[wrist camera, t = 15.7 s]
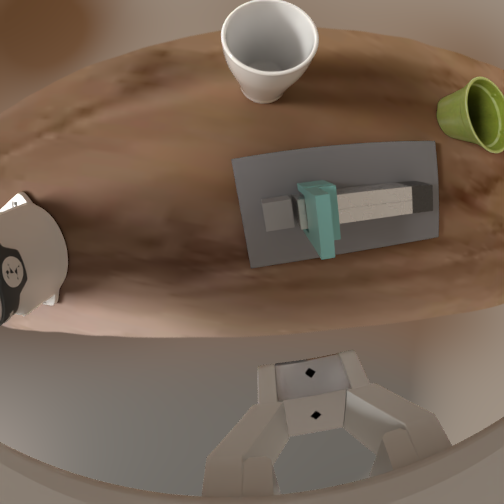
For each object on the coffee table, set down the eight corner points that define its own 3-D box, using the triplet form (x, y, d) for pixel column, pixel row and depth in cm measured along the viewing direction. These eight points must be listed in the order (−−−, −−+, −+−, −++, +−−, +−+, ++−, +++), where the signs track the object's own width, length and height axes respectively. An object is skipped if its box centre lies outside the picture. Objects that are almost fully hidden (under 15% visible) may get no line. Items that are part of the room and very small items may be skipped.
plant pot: (452, 76, 27) (490, 67, 19) (480, 132, 30) (519, 134, 21) (415, 101, 29) (453, 92, 21) (446, 161, 31) (487, 167, 23)
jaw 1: (294, 207, 32) (299, 215, 28) (292, 194, 32) (297, 200, 28) (415, 192, 31) (432, 197, 28) (415, 180, 31) (432, 184, 27)
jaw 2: (295, 220, 33) (301, 229, 29) (294, 207, 32) (299, 215, 28) (416, 204, 32) (433, 210, 28) (415, 192, 31) (432, 197, 28)
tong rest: (251, 263, 36) (250, 278, 32) (232, 159, 32) (229, 159, 28) (432, 233, 35) (450, 243, 31) (428, 141, 31) (448, 141, 26)
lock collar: (303, 230, 33) (321, 260, 24) (297, 183, 31) (314, 195, 22) (328, 227, 33) (355, 254, 24) (323, 179, 31) (350, 190, 22)
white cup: (304, 81, 29) (339, 34, 15) (266, 121, 31) (278, 95, 16) (259, 48, 28) (263, -17, 13) (221, 87, 29) (198, 40, 15)
